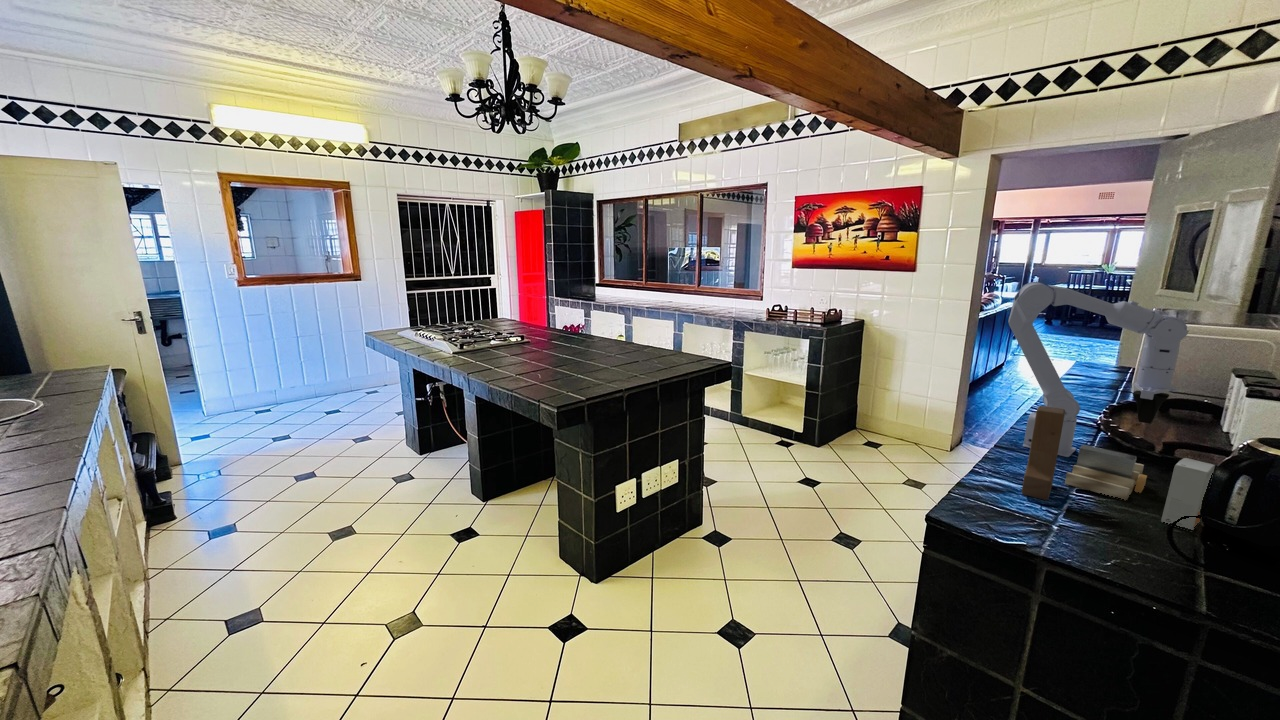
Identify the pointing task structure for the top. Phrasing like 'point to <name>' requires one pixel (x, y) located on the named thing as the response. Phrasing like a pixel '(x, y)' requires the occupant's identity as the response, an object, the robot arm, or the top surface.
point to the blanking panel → (1106, 461)
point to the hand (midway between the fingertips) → (1144, 422)
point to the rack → (1107, 481)
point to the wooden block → (1043, 452)
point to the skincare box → (1187, 492)
